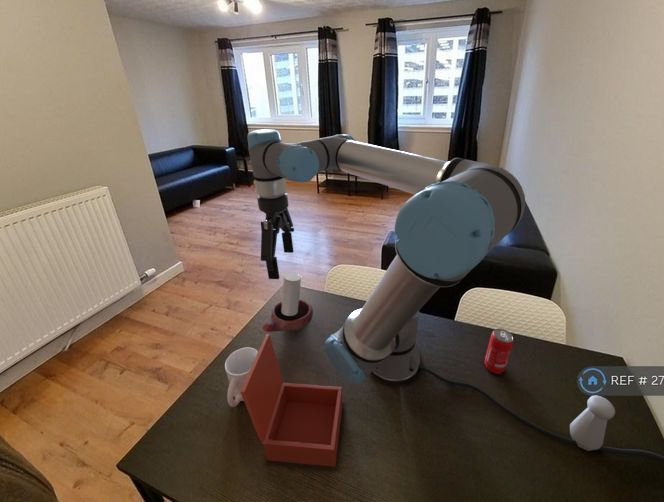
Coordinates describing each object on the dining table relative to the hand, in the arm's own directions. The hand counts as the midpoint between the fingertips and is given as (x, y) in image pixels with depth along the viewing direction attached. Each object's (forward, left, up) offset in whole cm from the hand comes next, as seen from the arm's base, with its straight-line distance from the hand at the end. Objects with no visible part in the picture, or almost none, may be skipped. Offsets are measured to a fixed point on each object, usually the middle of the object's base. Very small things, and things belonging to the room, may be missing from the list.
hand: (282, 264), depth 86 cm
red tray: (-12, +30, -25) cm, 41 cm away
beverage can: (-60, +9, -26) cm, 66 cm away
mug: (+6, +22, -26) cm, 35 cm away
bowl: (0, -1, -26) cm, 26 cm away
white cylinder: (0, -1, -18) cm, 18 cm away
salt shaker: (-73, +27, -26) cm, 82 cm away
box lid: (-5, +30, -10) cm, 32 cm away
